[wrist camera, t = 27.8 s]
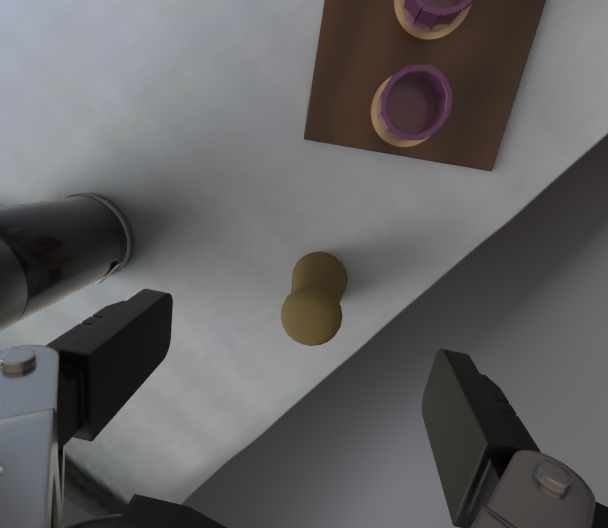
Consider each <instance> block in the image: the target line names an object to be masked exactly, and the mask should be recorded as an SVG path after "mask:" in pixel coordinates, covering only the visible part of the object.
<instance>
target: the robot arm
mask: <svg viewBox="0 0 608 528" xmlns="http://www.w3.org/2000/svg"><path fill="white" fill-rule="evenodd" d="M132 247H133V239H132V233H131V229H130V226H129V224H128V222H127V220H126V218H125V217H124V215H123V214H122V212H121V211H120V210H119V209H118V208H117V207H116V206H115V205H114V204H112V203H111V202H110V201H108V200H106V199H105V198H102V197H100V196H97V195H94V194H76V195H71V196H68V197H64V198H58V199H52V200H46V201H40V202H34V203H29V204H23V205H17V206H11V207H6V208H0V331H2V330H4V329H6V328H8V327H9V326H11V325H13V324H15V323H17V322H19V321H21V320H23V319H25V318H27V317H28V316H30V315H32V314H34V313H36V312H38V311H40V310H42V309H44V308H46V307H48V306H49V305H51V304H53V303H55V302H57V301H59V300H61V299H63V298H65V297H67V296H68V295H70V294H72V293H74V292H76V291H78V290H80V289H82V288H84V287H86V286H88V285H89V284H91V283H93V282H95V281H97V280H99V279H101V278H103V277H104V278H103V279H102V280H101V281H100V282H99V283H101V282H102V281H104V280H105V279H106V278H107V277H108V276H109V275H111V274H112V273H114V272H116V271H118V270H120V269H121V268H122V267H123V266H124V265H125V264H126V263H127V261H128V260H129V258H130V255H131V252H132ZM99 283H98V284H99ZM172 305H173V300H172V296H171V294H169V293H164V292H159V291H155V290H150V289H143V290H142V291H140V292H139V293H137V294H136V295H134V296H133V297H132V298H130V299H129V300H127V301H121V302H118V303H115V304H112V305H109V306H106V307H104V308H103V309H101V310H100V311H98V312H97V313H95V314H94V315H93V317H89V318H87V319H86V320H84V321H83V322H82V324H78V325H77V326H75V327H74V328H72V329H71V330H69V331H68V332H66V333H64V334H63V335H61V336H60V337H58V338H57V339H55V340H54V341H52V342H51V343H49V344H48V345H46V346H43V345H22V346H15V347H11V348H7V349H4V350H1V351H0V528H63V507H64V506H63V505H64V445H65V444H66V443H67V442H68V441H69V440H70V439H71V438H72V437H74V438H79V439H83V440H87V441H93V440H94V439H95V437H96V436H97V435H98V434H99V433H100V432H101V431H102V429H103V428H104V427H105V426H106V425H107V424H108V423H109V421H110V420H111V419H112V418H113V417H114V416H115V415H116V413H117V412H118V411H119V410H120V409H121V408H122V407H123V405H124V404H125V403H126V402H127V401H128V400H129V399H130V397H131V396H132V395H133V394H134V393H135V392H136V391H137V389H138V388H139V387H140V386H141V385H142V384H143V383H144V381H145V380H146V379H147V378H148V377H149V376H150V375H151V373H152V372H153V371H154V370H155V369H156V368H157V367H158V365H159V364H160V363H161V362H162V361H163V360H164V358H165V356H166V354H167V352H168V349H169V346H170V341H171V324H172ZM422 415H423V419H424V423H425V427H426V430H427V433H428V437H429V441H430V444H431V448H432V451H433V455H434V459H435V462H436V466H437V469H438V473H439V476H440V480H441V484H442V487H443V491H444V494H445V498H446V502H447V505H448V509H449V512H450V516H451V519H452V523H453V525H454V526H456V527H461V528H608V507H606V506H604V505H602V504H600V503H597V502H596V501H595V497H594V495H593V493H592V491H591V489H590V488H589V486H588V485H587V484H586V483H585V482H584V480H583V479H582V478H581V477H580V476H579V475H578V474H576V473H575V472H574V471H573V470H572V469H570V468H569V467H568V466H566V465H565V464H563V463H562V462H560V461H558V460H556V459H555V458H553V457H551V456H548V455H546V454H544V453H541V452H540V450H539V448H538V447H537V445H536V444H535V442H534V441H533V439H532V438H531V436H530V434H529V433H528V431H527V430H526V428H525V426H524V425H523V423H522V422H521V420H520V419H519V417H518V416H516V412H515V411H514V409H513V408H512V406H511V405H509V401H508V400H507V398H506V397H505V395H504V394H503V392H502V390H501V389H500V388H499V387H498V386H497V385H496V384H495V383H493V382H492V381H491V380H490V379H489V378H488V377H487V376H486V375H482V374H480V373H479V371H478V370H477V368H476V366H475V365H474V363H473V361H472V359H471V358H470V356H469V355H468V354H465V353H460V352H455V351H450V350H445V349H440V350H439V351H438V352H437V354H436V357H435V360H434V362H433V366H432V369H431V372H430V375H429V378H428V381H427V384H426V388H425V391H424V394H423V400H422ZM65 528H226V527H224V526H223V525H221V524H219V523H217V522H216V521H214V520H212V519H210V518H208V517H207V516H205V515H203V514H201V513H200V512H198V511H196V510H194V509H192V508H190V507H188V506H184V505H179V504H175V503H171V502H167V501H162V500H158V499H154V498H150V497H145V496H141V495H137V494H134V496H133V497H132V499H131V501H130V502H129V504H128V506H127V507H126V509H125V510H124V512H123V514H115V515H108V516H101V517H97V518H93V519H89V520H85V521H82V522H79V523H76V524H73V525H71V526H68V527H65Z"/></svg>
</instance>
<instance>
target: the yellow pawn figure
mask: <svg viewBox="0 0 608 528" xmlns="http://www.w3.org/2000/svg"><path fill="white" fill-rule="evenodd" d="M346 284H347V274H346V270H345V268H344V266H343V264H342V263H341V262H340V261H339V260H338V259H337V258H336V257H334V256H332V255H330V254H328V253H322V252H317V253H310V254H308V255H306V256H304V257H302V258H301V259H300V260H299V261H298V262H297V264H296V266H295V268H294V270H293V276H292V291H291V294H290V295H288V296H287V298H286V300H285V302H284V304H283V306H282V311H281V319H282V324H283V327H284V329H285V331H286V332H287V334H288V335H289V336H290V337H291V338H292V339H293V340H295V341H297V342H299V343H301V344H304V345H310V346H313V345H321V344H323V343H326V342H328V341H329V340H330V339H332V338H333V337H334V336H335V334H336V333H337V331H338V330H339V328H340V326H341V321H342V311H341V306H340V304H339V303H340V301H341V298H342V296H343V293H344V291H345V288H346Z"/></svg>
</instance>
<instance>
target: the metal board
mask: <svg viewBox="0 0 608 528" xmlns="http://www.w3.org/2000/svg"><path fill="white" fill-rule="evenodd" d="M545 1H546V0H474V1H473V2H472V4H471V5H470V6H469V7H468V8H467V9H466V11H465V12H464V13H463V14H462V15H461V16H460V17H459V18H458V19H457V20H456V21H455V22H454V23H453V24H451V25H450V26H449V27H447V28H445V29H443V30H440V31H437V32H423V31H420V30H418V29H416V28H414V27H413V26H411V25H410V24H409V23H408V21H407V20H406V18H405V17H404V15H403V12H402V9H401V4H400V0H325V3H324V10H323V16H322V23H321V29H320V36H319V42H318V49H317V55H316V62H315V68H314V75H313V81H312V88H311V94H310V101H309V107H308V114H307V120H306V127H305V133H304V139H306V140H312V141H318V142H324V143H330V144H336V145H341V146H347V147H353V148H359V149H365V150H371V151H376V152H382V153H388V154H394V155H400V156H406V157H411V158H417V159H423V160H429V161H435V162H441V163H446V164H452V165H458V166H464V167H470V168H476V169H481V170H487V171H492V169H493V166H494V162H495V159H496V156H497V153H498V150H499V147H500V143H501V140H502V137H503V134H504V131H505V128H506V124H507V121H508V118H509V115H510V112H511V109H512V106H513V102H514V99H515V96H516V93H517V90H518V87H519V83H520V80H521V77H522V74H523V71H524V68H525V64H526V61H527V58H528V55H529V52H530V49H531V46H532V42H533V39H534V36H535V33H536V30H537V27H538V23H539V20H540V17H541V14H542V11H543V8H544V4H545ZM416 64H428V65H431V66H433V67H434V68H436V69H438V70H439V71H441V72H443V73H444V75H446V77H447V79H448V82H449V84H450V86H451V88H452V90H453V92H451V93H453V100H452V110H451V112H450V113H451V114H450V115H449V117H448V118H447V120H446V121H445V123H444V125H443V126H442V128H441V129H439V131H437V132H436V133H434V134H432V135H430V136H429V137H427V138H425V139H422V140H417V141H399V140H398V141H397V140H396V139H393V138H391V137H390V136H388V135H387V134H386V133H385V132H384V131H383V130H382V128H381V127H380V124H379V122H378V119H377V101H378V98H379V97H380V95H381V93H382V91H383V90H384V88H385V86H386V84H387V83H388V81H389V79H390V78H391V77H392V76H393V75H394V74H395V73H397V72H399V71H400V70H402V69H403V68H405V67H406V66H410V65H416ZM444 75H443V76H444Z"/></svg>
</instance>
